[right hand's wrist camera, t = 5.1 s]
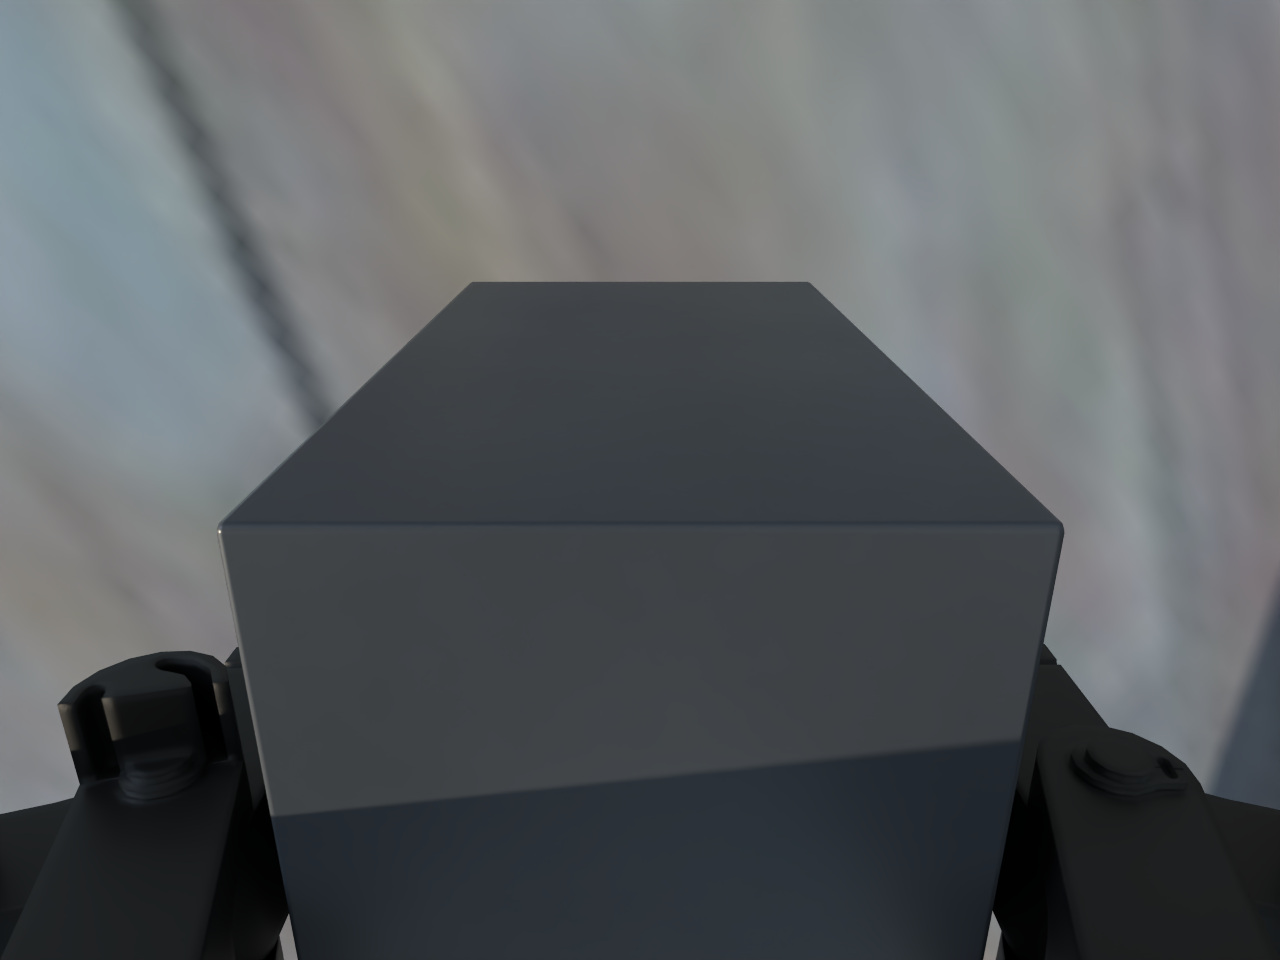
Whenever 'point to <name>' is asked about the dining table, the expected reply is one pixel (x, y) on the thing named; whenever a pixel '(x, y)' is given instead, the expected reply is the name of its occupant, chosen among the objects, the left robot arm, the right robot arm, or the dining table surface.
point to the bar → (640, 640)
